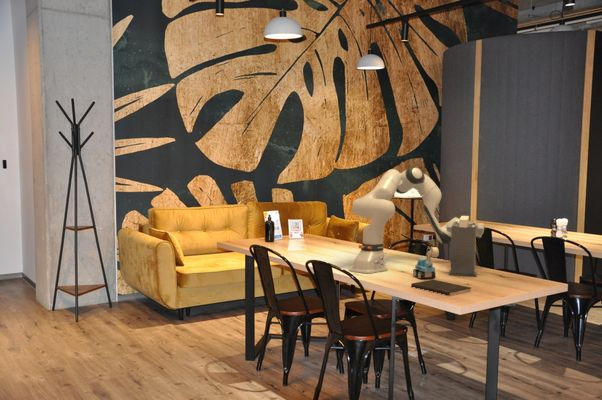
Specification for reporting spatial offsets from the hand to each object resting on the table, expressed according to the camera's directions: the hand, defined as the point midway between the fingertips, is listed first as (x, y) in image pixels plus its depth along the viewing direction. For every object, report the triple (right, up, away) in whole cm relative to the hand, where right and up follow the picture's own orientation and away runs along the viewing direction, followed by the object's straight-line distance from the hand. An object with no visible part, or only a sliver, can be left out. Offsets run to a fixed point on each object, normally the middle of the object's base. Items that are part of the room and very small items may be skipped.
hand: (464, 221), depth 330 cm
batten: (-3, -1, -8) cm, 9 cm away
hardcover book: (-23, -31, -43) cm, 58 cm away
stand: (-3, -28, -8) cm, 29 cm away
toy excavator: (-25, -29, -19) cm, 43 cm away
